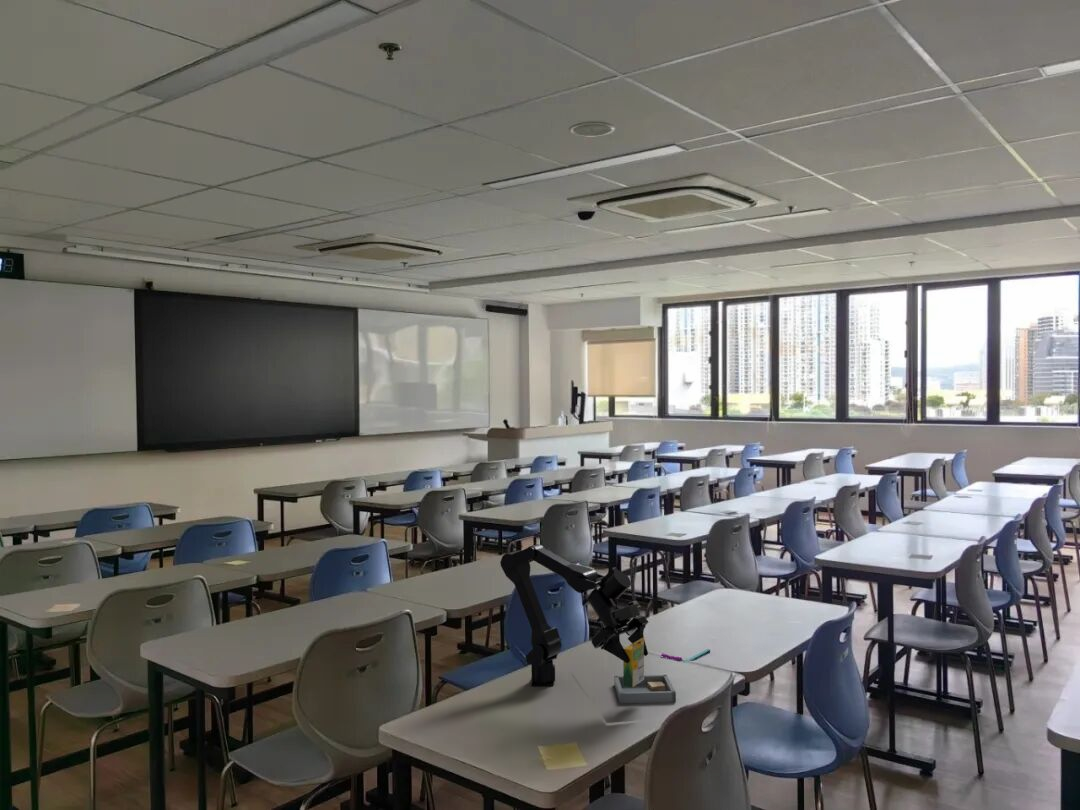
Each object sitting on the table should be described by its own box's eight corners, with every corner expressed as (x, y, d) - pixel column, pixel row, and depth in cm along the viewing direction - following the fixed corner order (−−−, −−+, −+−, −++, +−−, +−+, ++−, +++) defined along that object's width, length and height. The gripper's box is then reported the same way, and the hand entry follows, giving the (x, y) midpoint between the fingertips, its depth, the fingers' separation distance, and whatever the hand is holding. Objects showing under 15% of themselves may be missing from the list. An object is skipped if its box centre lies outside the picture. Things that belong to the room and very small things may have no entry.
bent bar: (682, 643, 263) (710, 648, 257) (683, 648, 263) (710, 653, 257) (634, 667, 241) (663, 674, 235) (635, 673, 241) (663, 679, 235)
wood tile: (652, 691, 221) (652, 686, 221) (647, 686, 225) (647, 682, 225) (665, 689, 222) (665, 685, 222) (660, 685, 226) (660, 680, 226)
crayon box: (634, 677, 215) (634, 634, 215) (644, 679, 214) (644, 636, 214) (622, 685, 209) (622, 641, 209) (632, 687, 208) (633, 643, 208)
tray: (620, 705, 213) (619, 693, 213) (614, 686, 227) (614, 675, 227) (675, 703, 213) (675, 692, 213) (666, 685, 227) (666, 674, 227)
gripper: (600, 598, 207) (633, 650, 200) (643, 586, 221) (676, 634, 213) (577, 622, 213) (609, 673, 205) (620, 609, 226) (652, 656, 219)
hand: (637, 658), depth 211 cm, fingers closed on crayon box, 7 cm apart
